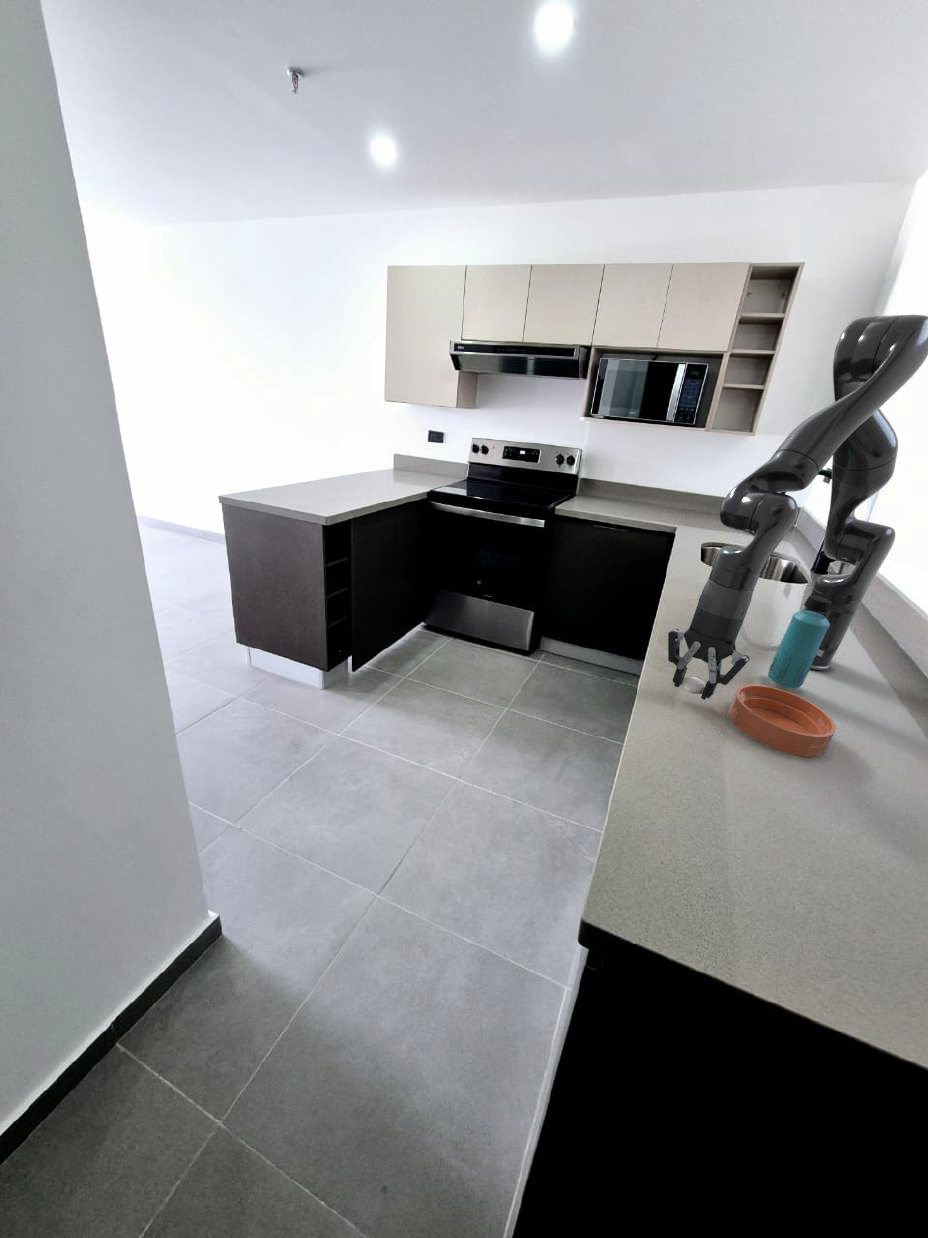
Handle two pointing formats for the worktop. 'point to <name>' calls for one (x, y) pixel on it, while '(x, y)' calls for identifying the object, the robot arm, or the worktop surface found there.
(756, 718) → the bowl
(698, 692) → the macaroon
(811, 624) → the beverage bottle
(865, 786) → the worktop surface
